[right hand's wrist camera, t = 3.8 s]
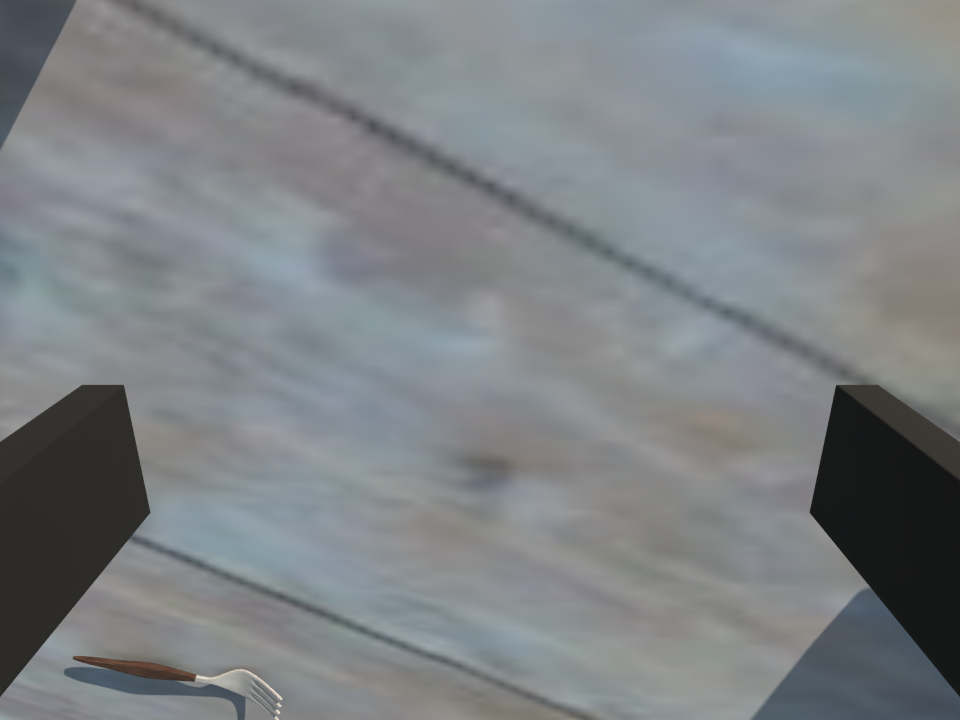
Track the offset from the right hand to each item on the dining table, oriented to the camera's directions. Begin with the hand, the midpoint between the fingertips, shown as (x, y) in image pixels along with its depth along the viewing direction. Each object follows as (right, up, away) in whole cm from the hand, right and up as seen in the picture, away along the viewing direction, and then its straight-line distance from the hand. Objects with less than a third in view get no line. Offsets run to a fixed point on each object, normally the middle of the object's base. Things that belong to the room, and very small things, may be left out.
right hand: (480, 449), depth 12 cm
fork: (-23, -22, +38) cm, 50 cm away
